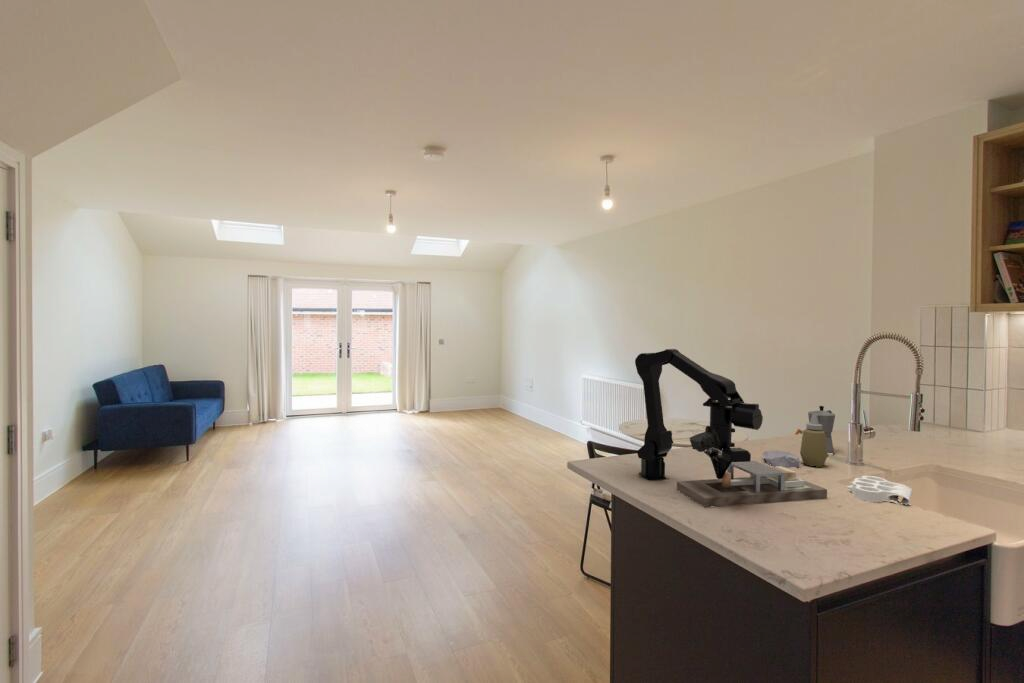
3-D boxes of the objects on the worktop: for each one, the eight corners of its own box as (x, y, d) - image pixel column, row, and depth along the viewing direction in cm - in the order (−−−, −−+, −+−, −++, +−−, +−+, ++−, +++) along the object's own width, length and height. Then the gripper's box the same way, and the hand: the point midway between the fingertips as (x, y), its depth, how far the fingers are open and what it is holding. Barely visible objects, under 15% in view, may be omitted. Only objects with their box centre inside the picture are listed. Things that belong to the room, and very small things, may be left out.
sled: (732, 491, 132) (732, 477, 132) (713, 481, 140) (713, 468, 140) (804, 486, 137) (804, 473, 137) (782, 477, 145) (782, 464, 145)
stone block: (771, 472, 166) (802, 468, 164) (768, 458, 166) (799, 454, 164) (760, 464, 178) (789, 460, 176) (757, 451, 178) (786, 447, 176)
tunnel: (756, 493, 131) (756, 474, 131) (727, 479, 144) (727, 461, 143) (784, 491, 133) (785, 472, 133) (753, 477, 145) (754, 460, 145)
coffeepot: (826, 457, 178) (827, 409, 177) (799, 452, 186) (800, 405, 185) (843, 451, 187) (845, 405, 186) (817, 446, 195) (818, 402, 194)
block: (777, 487, 136) (777, 473, 136) (762, 480, 142) (762, 467, 142) (795, 486, 138) (796, 472, 137) (780, 479, 143) (780, 466, 143)
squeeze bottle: (826, 464, 169) (828, 413, 169) (827, 469, 162) (828, 416, 162) (800, 460, 174) (801, 411, 173) (799, 466, 167) (800, 414, 166)
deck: (704, 507, 128) (705, 498, 127) (676, 489, 141) (676, 481, 141) (826, 498, 135) (827, 489, 135) (788, 482, 149) (789, 474, 149)
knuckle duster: (908, 511, 127) (841, 497, 137) (912, 494, 140) (851, 483, 150) (908, 498, 127) (841, 485, 137) (913, 483, 140) (852, 472, 150)
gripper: (677, 418, 143) (675, 470, 144) (714, 431, 125) (713, 491, 125) (710, 417, 145) (709, 468, 146) (752, 430, 127) (751, 489, 127)
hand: (719, 478), depth 136 cm, fingers closed, pressing on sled
